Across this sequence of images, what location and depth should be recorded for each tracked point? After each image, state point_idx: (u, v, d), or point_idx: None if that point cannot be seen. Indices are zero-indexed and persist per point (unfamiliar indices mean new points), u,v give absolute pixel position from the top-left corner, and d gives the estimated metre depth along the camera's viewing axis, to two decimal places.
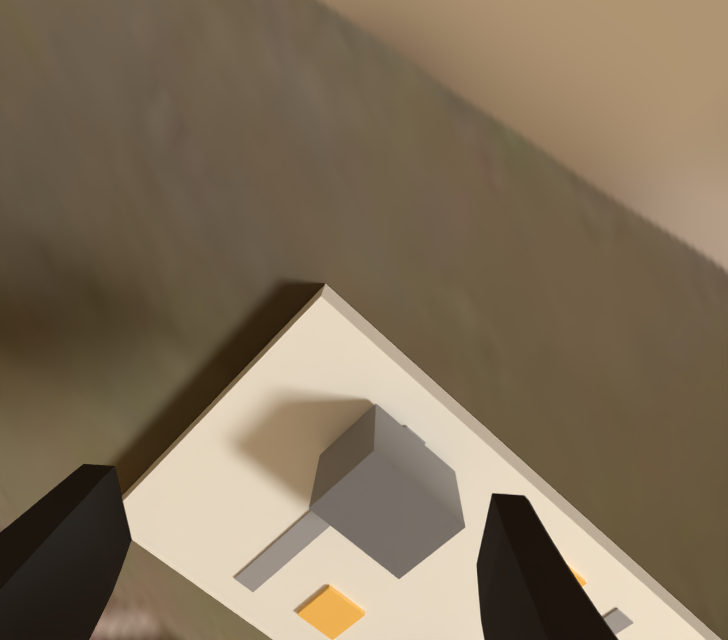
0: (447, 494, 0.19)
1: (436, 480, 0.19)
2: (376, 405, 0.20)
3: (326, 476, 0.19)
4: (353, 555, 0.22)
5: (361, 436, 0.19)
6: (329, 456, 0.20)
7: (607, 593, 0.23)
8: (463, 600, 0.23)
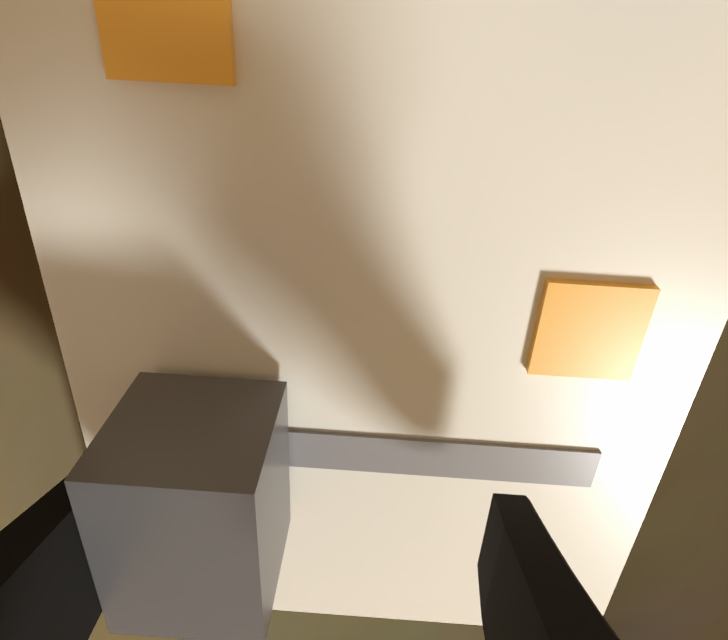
0: None
1: None
2: None
3: None
4: None
5: None
6: None
7: (619, 421, 0.12)
8: (430, 240, 0.10)
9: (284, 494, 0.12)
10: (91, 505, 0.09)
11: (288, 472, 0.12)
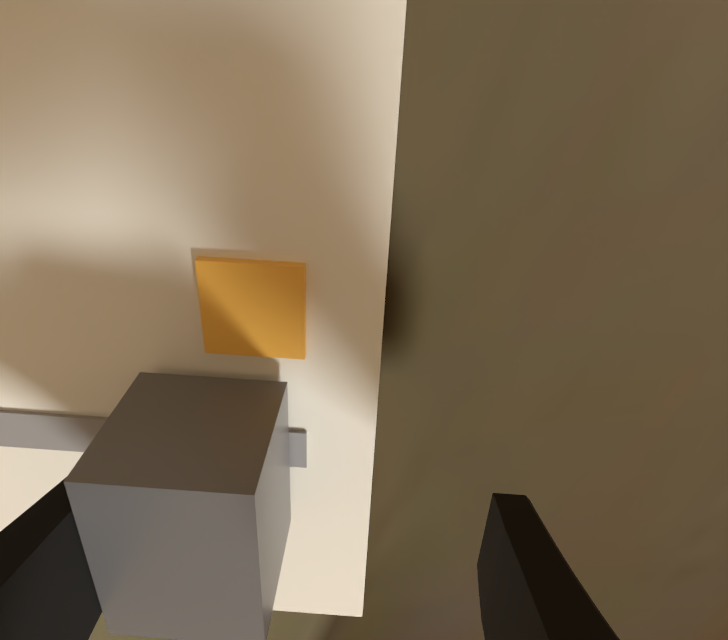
0: None
1: None
2: None
3: None
4: None
5: None
6: None
7: (315, 400, 0.12)
8: (75, 218, 0.10)
9: (284, 494, 0.12)
10: (91, 506, 0.09)
11: (288, 472, 0.12)
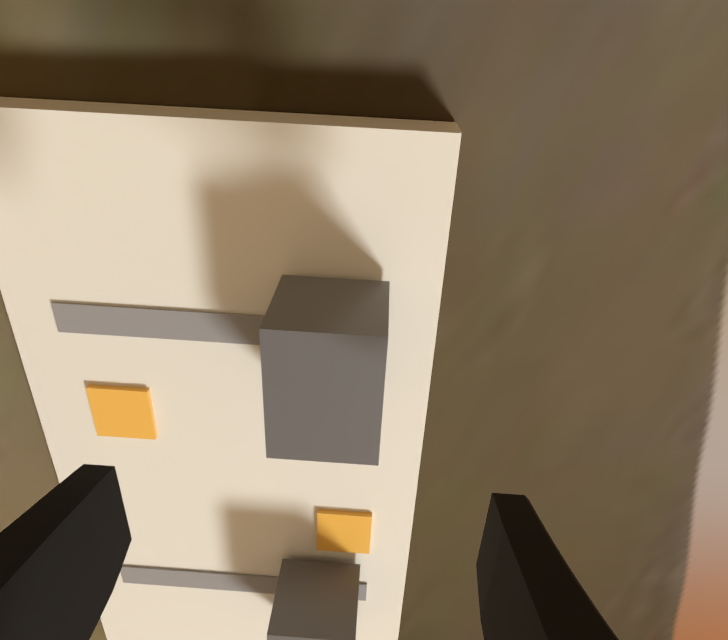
0: None
1: None
2: (389, 284, 0.15)
3: (295, 310, 0.14)
4: (202, 383, 0.18)
5: (364, 304, 0.14)
6: (302, 289, 0.15)
7: (372, 569, 0.22)
8: (257, 493, 0.20)
9: None
10: None
11: None
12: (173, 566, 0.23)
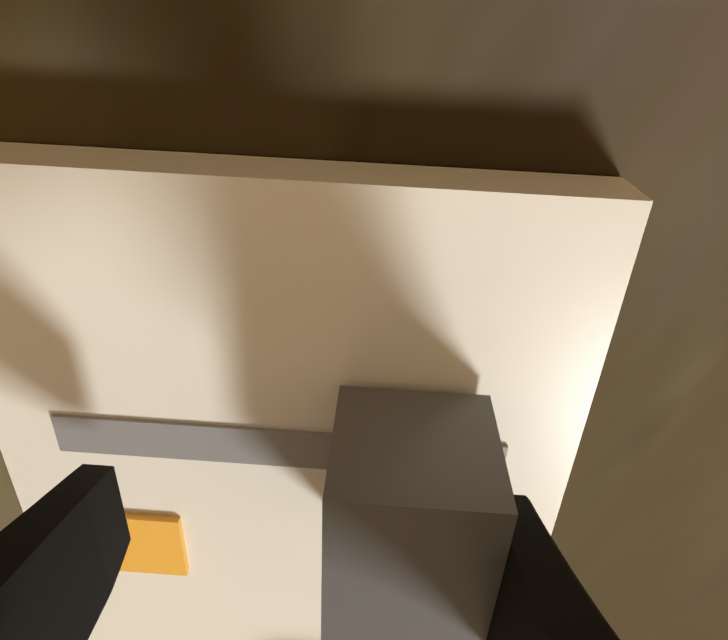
0: None
1: None
2: (491, 401, 0.11)
3: (369, 457, 0.10)
4: (251, 512, 0.14)
5: (466, 443, 0.10)
6: (372, 414, 0.10)
7: None
8: (315, 633, 0.16)
9: None
10: None
11: None
12: None
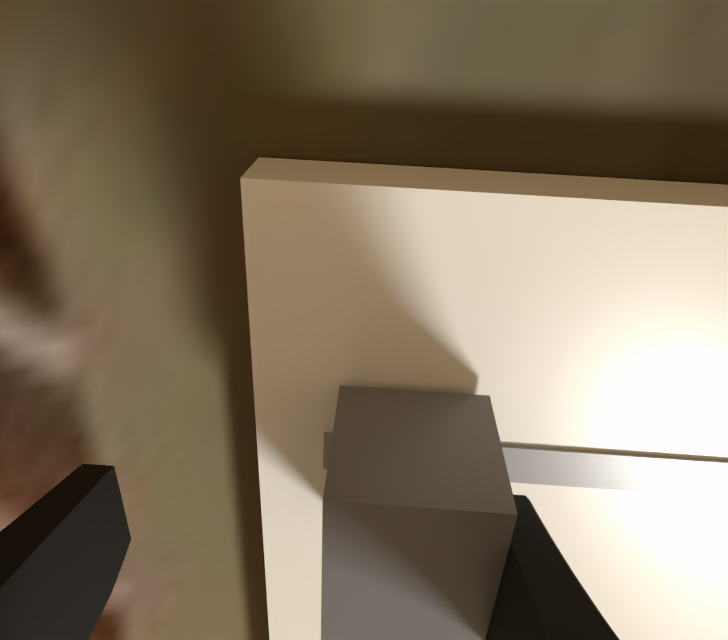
0: None
1: None
2: (490, 401, 0.11)
3: (369, 457, 0.10)
4: None
5: (466, 443, 0.10)
6: (371, 414, 0.11)
7: None
8: None
9: None
10: None
11: None
12: None
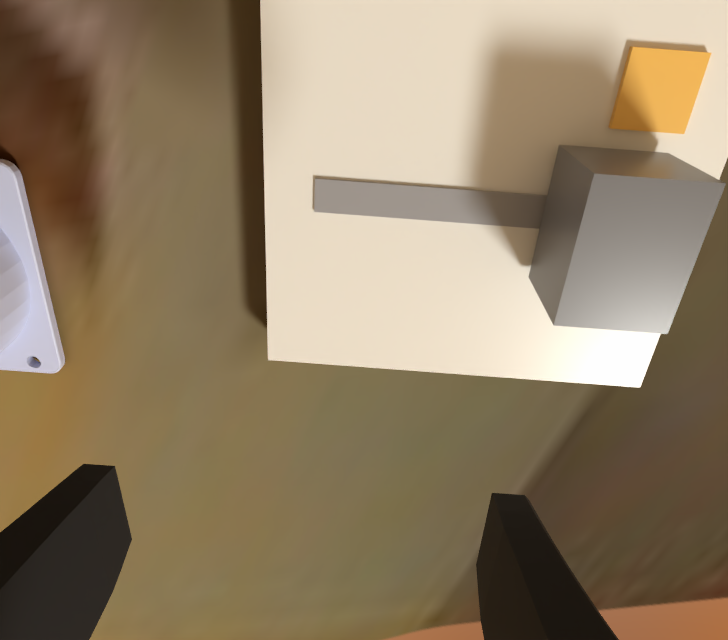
0: None
1: None
2: None
3: None
4: None
5: None
6: None
7: None
8: (550, 14, 0.14)
9: None
10: (602, 197, 0.13)
11: None
12: (390, 179, 0.16)
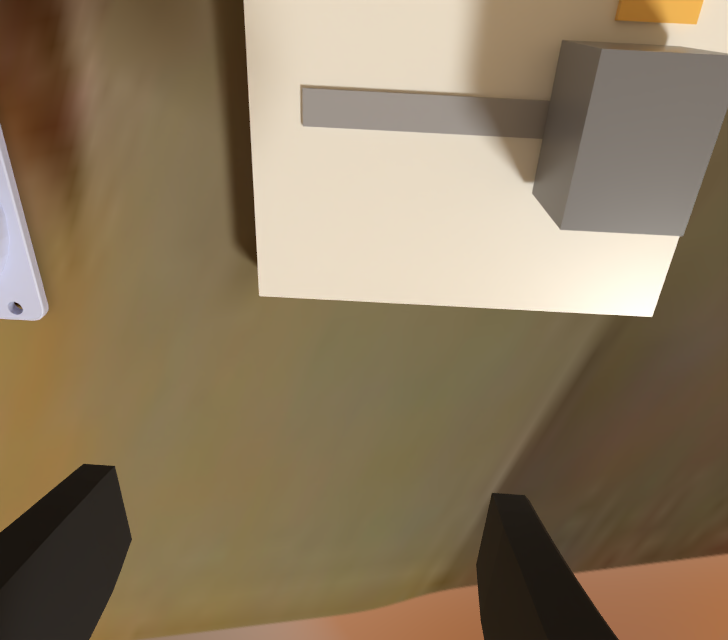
0: None
1: None
2: None
3: None
4: None
5: None
6: None
7: None
8: None
9: None
10: (611, 76, 0.12)
11: None
12: (382, 86, 0.15)
